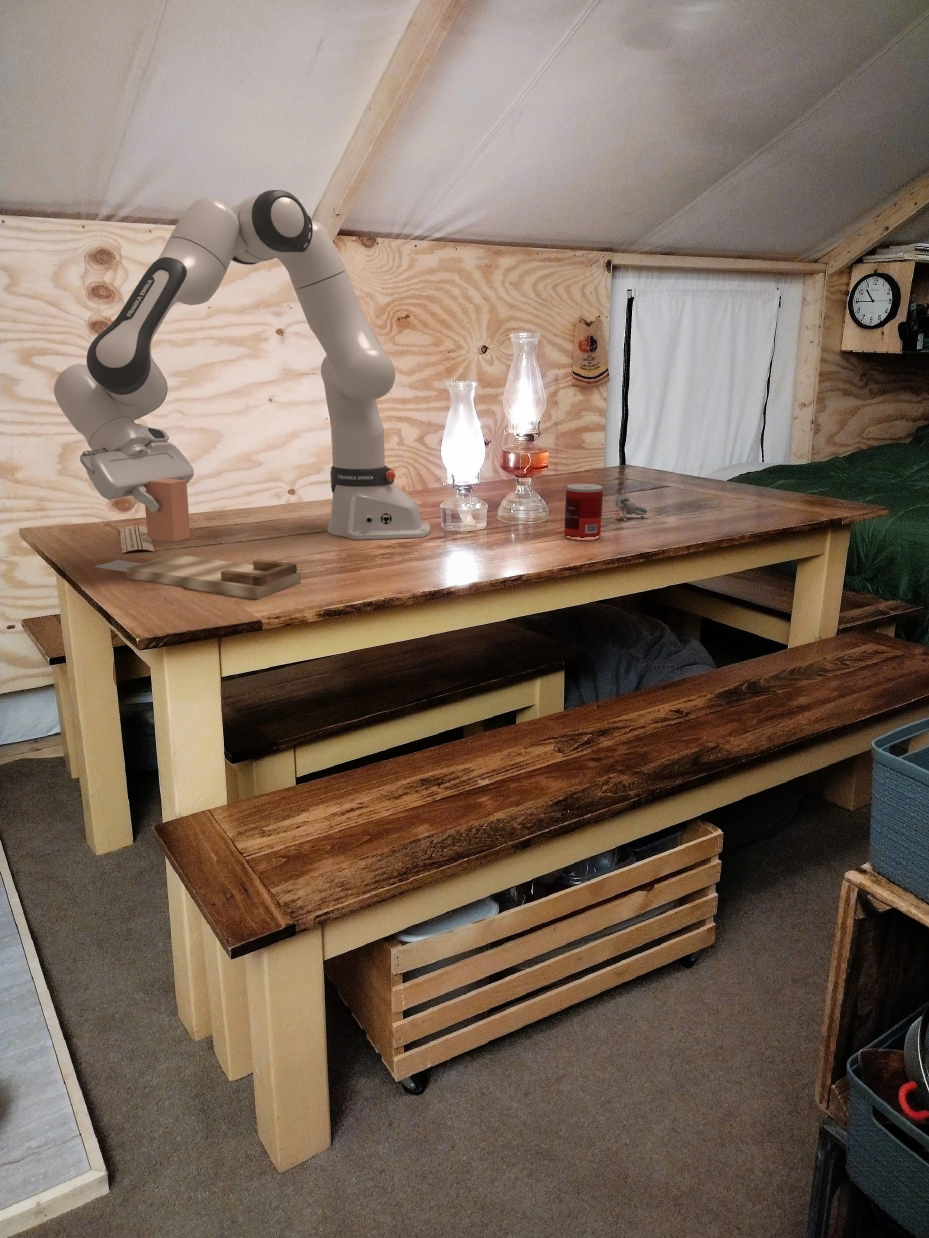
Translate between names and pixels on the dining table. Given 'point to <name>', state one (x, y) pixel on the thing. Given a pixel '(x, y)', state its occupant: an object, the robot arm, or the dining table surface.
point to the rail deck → (219, 575)
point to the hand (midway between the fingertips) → (169, 507)
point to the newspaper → (135, 539)
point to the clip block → (168, 510)
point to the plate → (117, 565)
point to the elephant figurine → (629, 506)
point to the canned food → (583, 510)
